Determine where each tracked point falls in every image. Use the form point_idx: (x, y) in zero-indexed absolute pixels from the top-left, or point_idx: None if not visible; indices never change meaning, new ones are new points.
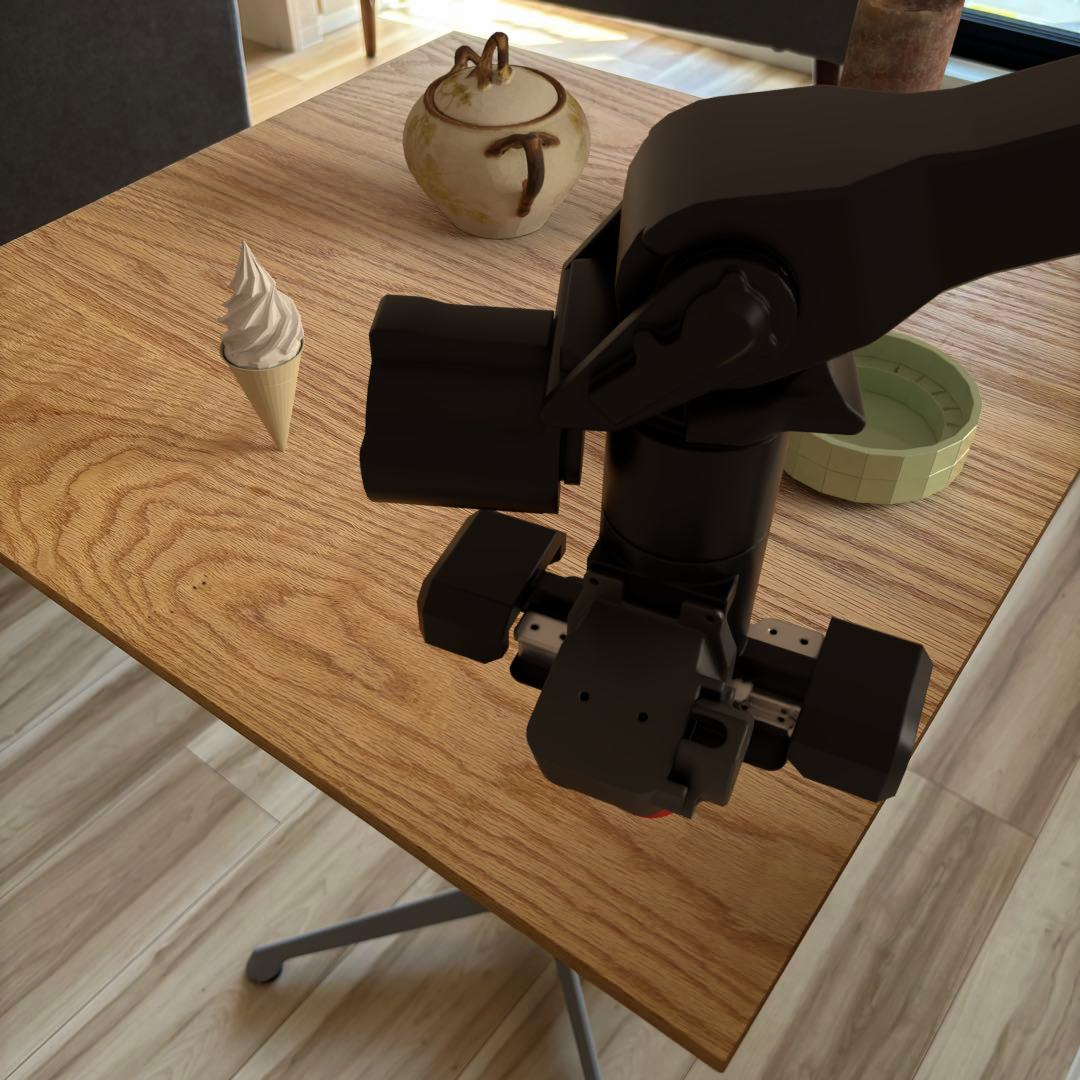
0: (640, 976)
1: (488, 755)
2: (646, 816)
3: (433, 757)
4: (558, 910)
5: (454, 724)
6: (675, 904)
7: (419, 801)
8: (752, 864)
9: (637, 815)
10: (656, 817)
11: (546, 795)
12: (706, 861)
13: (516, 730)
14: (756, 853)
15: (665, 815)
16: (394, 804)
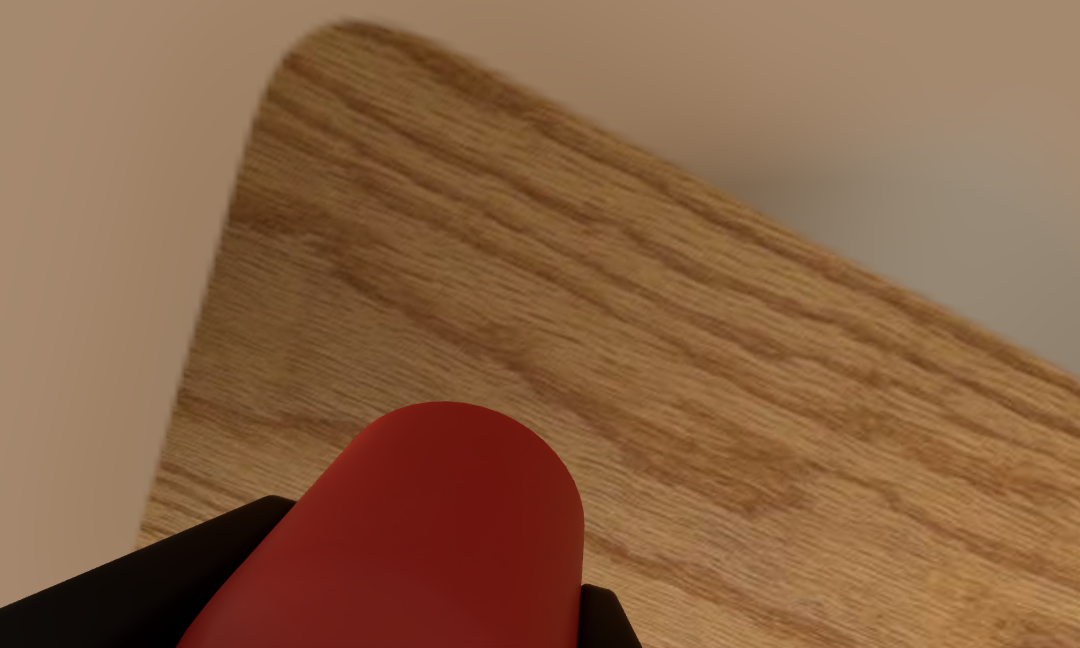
0: (474, 100)
1: (834, 524)
2: (439, 405)
3: (955, 510)
4: (657, 215)
5: (911, 581)
6: (431, 266)
7: (984, 413)
8: (310, 365)
9: (468, 405)
10: (410, 405)
11: (706, 454)
12: (389, 359)
13: (779, 577)
14: (307, 386)
15: (386, 415)
16: (1044, 400)
